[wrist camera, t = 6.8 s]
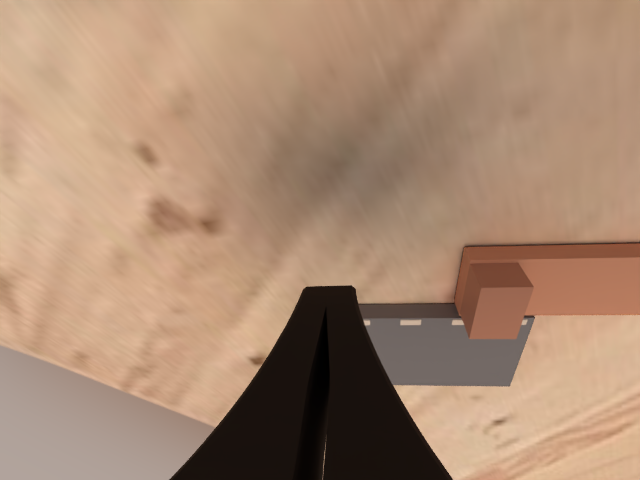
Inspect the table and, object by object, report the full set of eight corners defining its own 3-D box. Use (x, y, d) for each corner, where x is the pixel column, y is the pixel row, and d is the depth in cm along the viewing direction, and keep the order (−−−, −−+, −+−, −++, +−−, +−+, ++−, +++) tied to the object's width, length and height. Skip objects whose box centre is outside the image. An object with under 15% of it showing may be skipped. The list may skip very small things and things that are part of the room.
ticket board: (526, 303, 22) (535, 318, 21) (503, 371, 25) (510, 387, 24) (296, 304, 23) (294, 319, 22) (305, 369, 27) (303, 384, 25)
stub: (662, 242, 19) (712, 281, 16) (630, 299, 21) (670, 341, 18) (464, 246, 20) (481, 284, 17) (454, 301, 22) (468, 341, 19)
